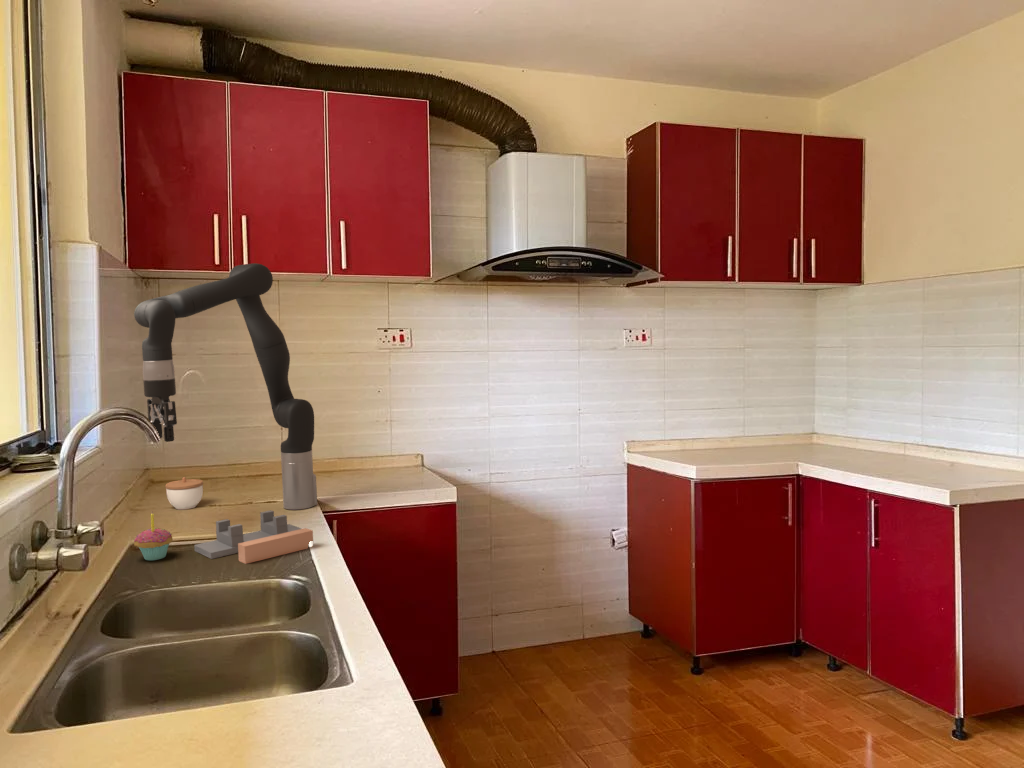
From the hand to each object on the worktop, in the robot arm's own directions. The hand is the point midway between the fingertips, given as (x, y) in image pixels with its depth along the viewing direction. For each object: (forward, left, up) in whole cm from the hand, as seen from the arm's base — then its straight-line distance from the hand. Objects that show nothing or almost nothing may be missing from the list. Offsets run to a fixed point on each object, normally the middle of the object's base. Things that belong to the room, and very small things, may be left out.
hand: (163, 439), depth 203 cm
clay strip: (-14, +33, -27) cm, 45 cm away
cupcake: (+8, +13, -27) cm, 31 cm away
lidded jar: (-18, -34, -27) cm, 47 cm away
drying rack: (-14, +20, -27) cm, 36 cm away
